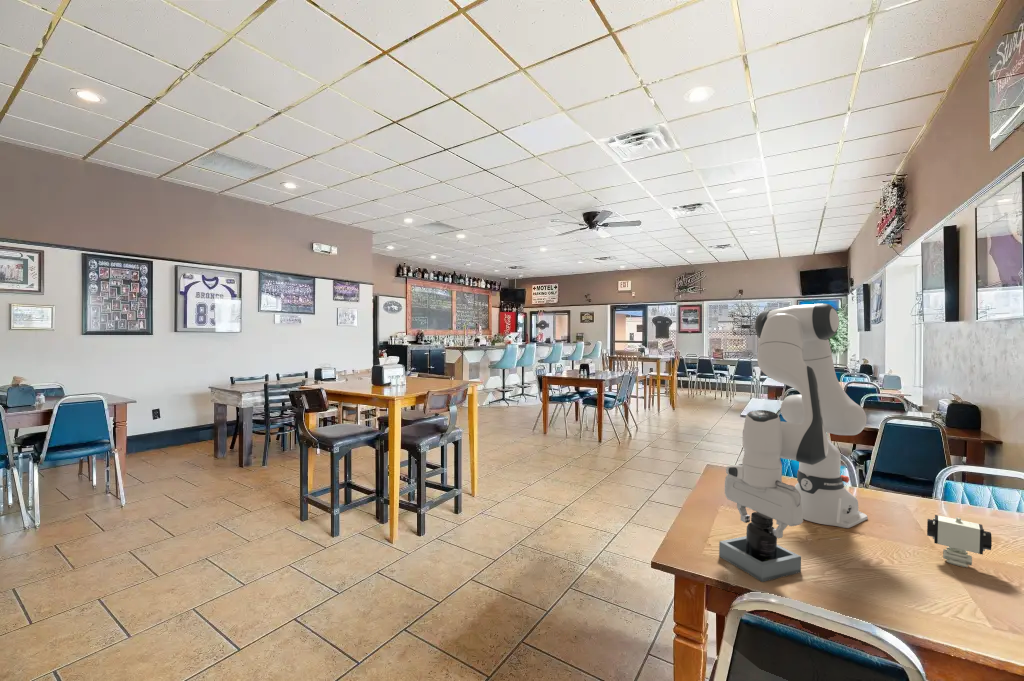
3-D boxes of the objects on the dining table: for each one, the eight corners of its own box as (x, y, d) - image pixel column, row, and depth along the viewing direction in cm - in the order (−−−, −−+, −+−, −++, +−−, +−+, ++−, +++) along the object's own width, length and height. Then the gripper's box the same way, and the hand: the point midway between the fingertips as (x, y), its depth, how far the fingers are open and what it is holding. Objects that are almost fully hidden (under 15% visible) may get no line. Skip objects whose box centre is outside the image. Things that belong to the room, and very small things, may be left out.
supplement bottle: (740, 555, 118) (741, 510, 118) (765, 555, 118) (766, 509, 118) (756, 569, 111) (757, 521, 111) (782, 568, 111) (783, 520, 111)
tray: (755, 548, 124) (755, 534, 123) (800, 572, 111) (801, 556, 111) (719, 556, 119) (719, 541, 119) (762, 582, 107) (762, 565, 107)
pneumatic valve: (990, 575, 111) (992, 527, 111) (926, 559, 119) (927, 514, 119) (988, 567, 115) (990, 520, 115) (926, 551, 123) (927, 508, 123)
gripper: (810, 487, 106) (809, 544, 106) (738, 463, 125) (737, 512, 126) (791, 490, 104) (790, 549, 104) (720, 465, 123) (720, 515, 123)
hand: (760, 529), depth 115 cm, fingers open, 8 cm apart
